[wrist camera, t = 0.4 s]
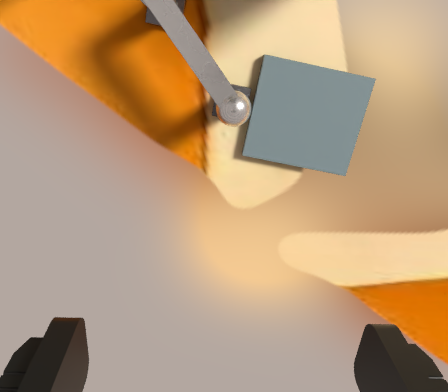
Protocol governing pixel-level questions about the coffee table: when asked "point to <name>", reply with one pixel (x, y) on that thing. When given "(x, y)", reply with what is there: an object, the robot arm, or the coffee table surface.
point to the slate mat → (306, 115)
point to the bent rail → (200, 61)
